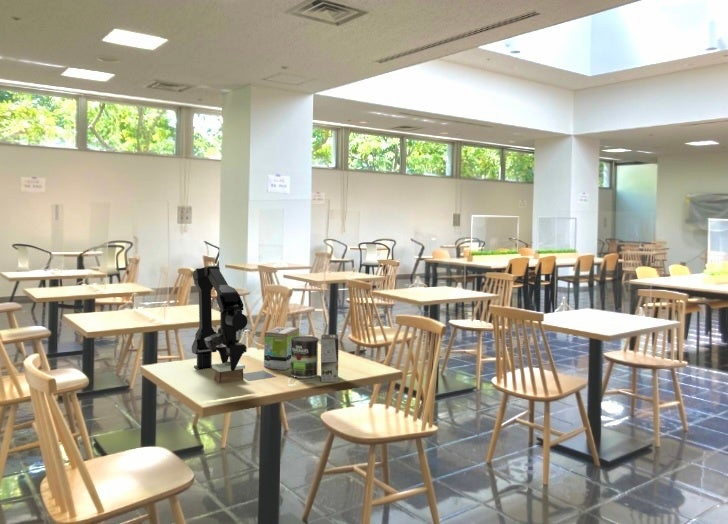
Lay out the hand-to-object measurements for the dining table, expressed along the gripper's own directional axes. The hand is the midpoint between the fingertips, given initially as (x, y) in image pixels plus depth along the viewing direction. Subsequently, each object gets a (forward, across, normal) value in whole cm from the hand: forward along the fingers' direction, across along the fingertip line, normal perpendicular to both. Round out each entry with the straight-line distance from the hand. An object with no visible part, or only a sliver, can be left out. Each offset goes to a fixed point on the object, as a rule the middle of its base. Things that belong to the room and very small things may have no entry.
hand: (228, 368), depth 215 cm
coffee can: (+5, +6, +28) cm, 29 cm away
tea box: (+5, -13, +28) cm, 31 cm away
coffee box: (+5, +16, +33) cm, 37 cm away
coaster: (+5, 0, +11) cm, 12 cm away
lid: (+1, 0, 0) cm, 1 cm away
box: (+5, 0, 0) cm, 5 cm away
